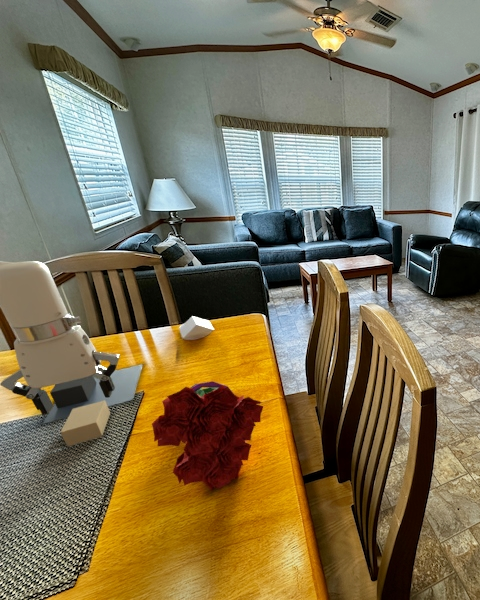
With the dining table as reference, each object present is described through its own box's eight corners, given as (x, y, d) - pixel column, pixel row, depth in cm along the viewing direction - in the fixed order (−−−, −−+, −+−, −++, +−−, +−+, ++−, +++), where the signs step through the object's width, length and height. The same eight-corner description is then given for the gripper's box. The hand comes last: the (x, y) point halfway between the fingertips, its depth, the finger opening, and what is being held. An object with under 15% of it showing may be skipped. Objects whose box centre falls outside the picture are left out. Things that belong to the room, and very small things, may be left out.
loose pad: (68, 449, 66) (60, 432, 64) (80, 424, 72) (72, 408, 71) (103, 439, 68) (96, 422, 67) (111, 416, 75) (105, 400, 73)
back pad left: (57, 408, 76) (49, 392, 74) (68, 390, 82) (61, 375, 81) (88, 400, 78) (81, 385, 77) (96, 383, 85) (90, 368, 83)
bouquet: (234, 411, 85) (280, 460, 63) (158, 446, 75) (181, 519, 52) (213, 341, 81) (254, 366, 59) (130, 367, 70) (142, 410, 48)
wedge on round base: (216, 338, 109) (208, 325, 118) (212, 320, 106) (204, 308, 116) (185, 347, 104) (179, 332, 113) (180, 328, 101) (174, 315, 111)
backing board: (43, 427, 72) (41, 424, 71) (69, 384, 86) (68, 381, 86) (134, 403, 79) (132, 399, 79) (143, 367, 94) (142, 364, 93)
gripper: (107, 311, 68) (134, 379, 74) (-12, 331, 60) (29, 406, 67) (99, 324, 62) (128, 397, 68) (-36, 349, 54) (12, 429, 60)
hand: (79, 401), depth 67 cm, fingers open, 9 cm apart
